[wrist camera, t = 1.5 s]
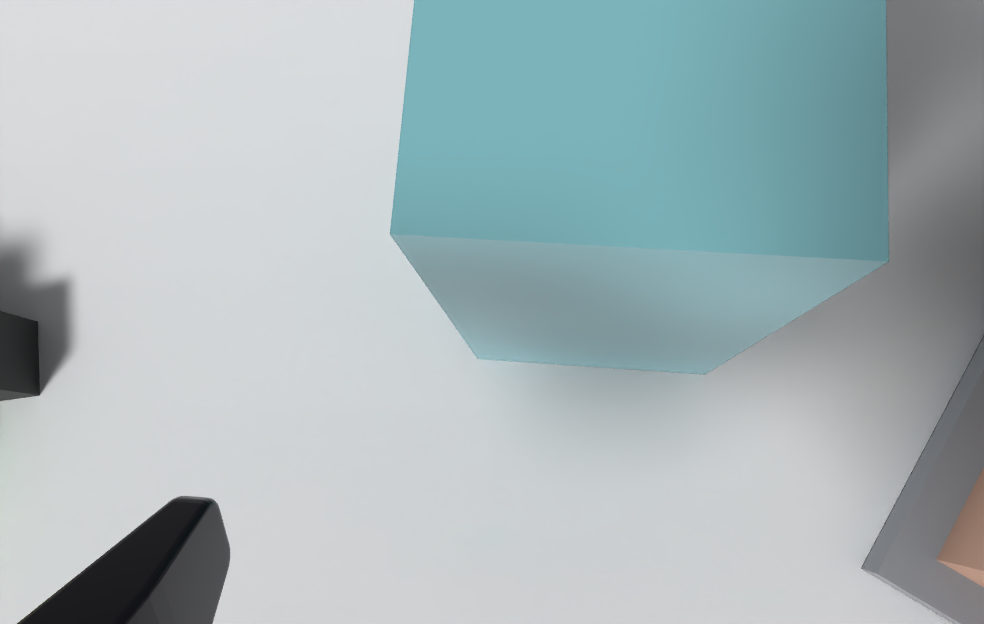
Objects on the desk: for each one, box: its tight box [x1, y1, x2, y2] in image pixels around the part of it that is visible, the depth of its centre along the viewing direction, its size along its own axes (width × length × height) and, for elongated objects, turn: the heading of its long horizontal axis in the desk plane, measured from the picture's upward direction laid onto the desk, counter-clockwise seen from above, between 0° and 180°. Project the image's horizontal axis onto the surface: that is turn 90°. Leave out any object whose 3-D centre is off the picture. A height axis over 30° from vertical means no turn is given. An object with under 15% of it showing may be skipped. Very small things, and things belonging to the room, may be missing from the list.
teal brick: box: [390, 0, 889, 374], centre depth 16 cm, size 6×6×12 cm
